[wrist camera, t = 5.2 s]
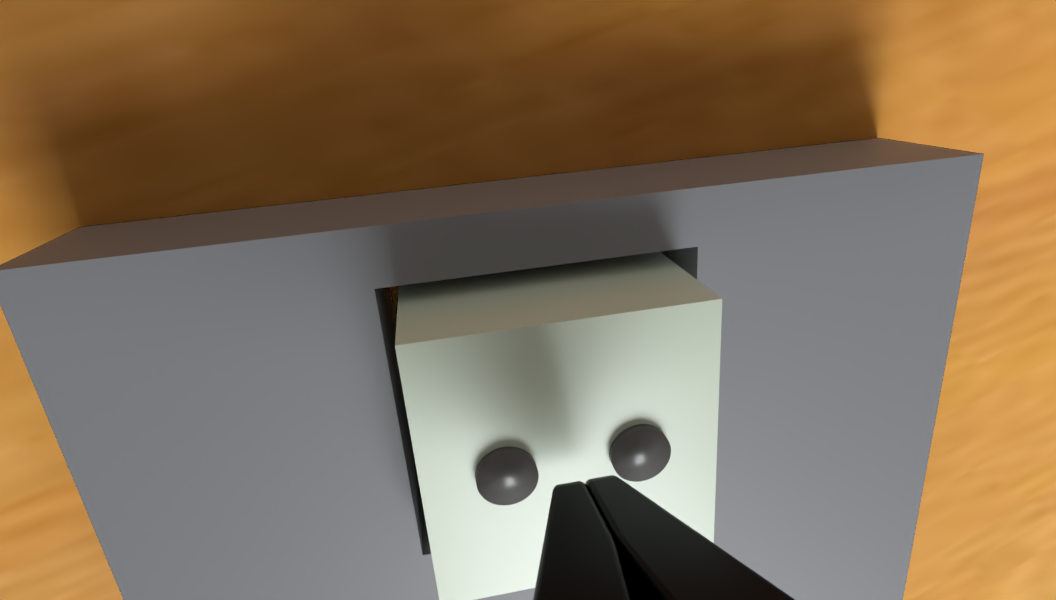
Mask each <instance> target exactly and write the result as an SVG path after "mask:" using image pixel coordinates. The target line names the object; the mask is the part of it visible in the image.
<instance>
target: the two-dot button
mask: <svg viewBox="0 0 1056 600" xmlns="http://www.w3.org/2000/svg"><path fill="white" fill-rule="evenodd" d="M721 322H722V298H721V297H719V296H718V295H717V294H715V293H714V292H713V291H711V290H710V289H709V288H707V287H706V286H705V285H703V284H702V283H701V282H699V281H698V280H697V279H695V278H694V277H693V276H691V275H690V274H689V273H687V272H686V271H685V270H683V269H682V268H681V267H679V266H678V265H677V264H675V263H674V262H673V261H671V260H670V259H669V258H667V257H666V256H665V255H664V254H662V253H661V252H653V253H645V254H637V255H630V256H622V257H615V258H607V259H599V260H592V261H584V262H576V263H569V264H561V265H553V266H546V267H538V268H531V269H523V270H515V271H508V272H500V273H492V274H485V275H477V276H470V277H462V278H454V279H447V280H439V281H431V282H424V283H416V284H408V285H401V286H399V294H398V308H397V322H396V336H395V349H396V355H397V361H398V367H399V372H400V378H401V384H402V389H403V395H404V401H405V407H406V412H407V418H408V424H409V429H410V435H411V441H412V447H413V452H414V458H415V464H416V470H417V475H418V481H419V487H420V492H421V498H422V504H423V510H424V515H425V521H426V527H427V532H428V538H429V544H430V550H431V555H432V561H433V567H434V572H435V578H436V584H437V590H438V595H439V600H476V599H481V598H486V597H491V596H496V595H501V594H506V593H511V592H516V591H521V590H526V589H531V588H535V586H536V580H537V575H538V569H539V564H540V558H541V553H542V547H543V542H544V536H545V531H546V525H547V520H548V514H549V509H550V503H551V498H552V492H553V488H554V487H555V486H556V485H559V484H564V483H570V482H576V481H581V482H584V483H586V481H587V480H588V479H592V478H598V477H603V476H609V475H614V476H617V477H619V478H620V479H621V480H623V481H624V482H626V483H627V484H629V485H630V486H632V487H633V488H635V489H636V490H637V491H639V492H640V493H642V494H643V495H645V496H646V497H648V498H649V499H650V500H652V501H653V502H655V503H656V504H658V505H659V506H661V507H662V508H663V509H665V510H666V511H668V512H669V513H671V514H672V515H674V516H675V517H676V518H678V519H679V520H681V521H682V522H684V523H685V524H687V525H688V526H690V527H691V528H692V529H694V530H695V531H697V532H698V533H700V534H701V535H703V536H704V537H705V538H707V539H708V540H710V541H711V542H713V543H714V522H715V493H716V465H717V436H718V408H719V379H720V351H721Z"/></svg>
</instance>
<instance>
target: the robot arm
mask: <svg viewBox="0 0 1056 600" xmlns="http://www.w3.org/2000/svg"><path fill="white" fill-rule="evenodd" d="M533 600H795V599H794V598H792V597H791V596H789V595H788V594H786V593H785V592H784V591H782V590H781V589H779V588H778V587H776V586H775V585H773V584H772V583H771V582H769V581H768V580H766V579H765V578H763V577H762V576H760V575H759V574H758V573H756V572H755V571H753V570H752V569H750V568H749V567H747V566H746V565H745V564H743V563H742V562H740V561H739V560H737V559H736V558H734V557H733V556H731V555H730V554H729V553H727V552H726V551H724V550H723V549H721V548H720V547H718V546H717V545H716V544H714V543H713V542H711V541H710V540H708V539H707V538H705V537H704V536H703V535H701V534H700V533H698V532H697V531H695V530H694V529H692V528H691V527H690V526H688V525H687V524H685V523H684V522H682V521H681V520H679V519H678V518H676V517H675V516H674V515H672V514H671V513H669V512H668V511H666V510H665V509H663V508H662V507H661V506H659V505H658V504H656V503H655V502H653V501H652V500H650V499H649V498H648V497H646V496H645V495H643V494H642V493H640V492H639V491H637V490H636V489H635V488H633V487H632V486H630V485H629V484H627V483H626V482H624V481H623V480H621V479H620V478H619V477H617V476H614V475H609V476H603V477H598V478H592V479H588V480H587V481H586V483H584V482H581V481H576V482H570V483H564V484H559V485H556V486H555V487H554V488H553V492H552V498H551V503H550V509H549V514H548V520H547V525H546V531H545V536H544V542H543V547H542V553H541V558H540V564H539V569H538V575H537V580H536V586H535V591H534V597H533Z"/></svg>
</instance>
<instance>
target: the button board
mask: <svg viewBox="0 0 1056 600" xmlns="http://www.w3.org/2000/svg"><path fill="white" fill-rule="evenodd" d="M983 156H984V154H981V153H975V152H968V151H962V150H955V149H949V148H942V147H936V146H929V145H923V144H916V143H910V142H903V141H896V140H890V139H883V138H874V139H865V140H856V141H847V142H838V143H829V144H820V145H811V146H802V147H793V148H784V149H775V150H766V151H757V152H748V153H739V154H730V155H721V156H713V157H704V158H695V159H686V160H677V161H668V162H659V163H650V164H641V165H632V166H623V167H614V168H605V169H596V170H587V171H578V172H569V173H560V174H551V175H542V176H534V177H525V178H516V179H507V180H498V181H489V182H480V183H471V184H462V185H453V186H444V187H435V188H426V189H417V190H408V191H399V192H390V193H381V194H372V195H363V196H354V197H346V198H337V199H328V200H319V201H310V202H301V203H292V204H283V205H274V206H265V207H256V208H247V209H238V210H229V211H220V212H211V213H202V214H193V215H184V216H175V217H167V218H158V219H149V220H140V221H131V222H122V223H113V224H104V225H95V226H86V227H79V228H77V229H75V230H73V231H71V232H68V233H66V234H64V235H62V236H60V237H58V238H56V239H54V240H52V241H50V242H48V243H45V244H43V245H41V246H39V247H37V248H35V249H33V250H31V251H29V252H27V253H25V254H22V255H20V256H18V257H16V258H14V259H12V260H10V261H8V262H6V263H4V264H2V265H0V305H1V307H2V310H3V312H4V315H5V317H6V319H7V322H8V324H9V327H10V329H11V331H12V334H13V336H14V338H15V341H16V343H17V346H18V348H19V350H20V353H21V355H22V358H23V360H24V362H25V365H26V367H27V370H28V372H29V374H30V377H31V379H32V382H33V384H34V386H35V389H36V391H37V394H38V396H39V398H40V401H41V403H42V405H43V408H44V410H45V413H46V415H47V417H48V420H49V422H50V425H51V427H52V429H53V432H54V434H55V437H56V439H57V441H58V444H59V446H60V449H61V451H62V453H63V456H64V458H65V461H66V463H67V465H68V468H69V470H70V472H71V475H72V477H73V480H74V482H75V484H76V487H77V489H78V492H79V494H80V496H81V499H82V501H83V504H84V506H85V508H86V511H87V513H88V516H89V518H90V520H91V523H92V525H93V528H94V530H95V532H96V535H97V537H98V539H99V542H100V544H101V547H102V549H103V551H104V554H105V556H106V559H107V561H108V563H109V566H110V568H111V571H112V573H113V575H114V578H115V580H116V583H117V585H118V587H119V590H120V592H121V595H122V597H123V599H124V600H439V595H438V590H437V584H436V578H435V572H434V567H433V561H432V555H431V550H430V544H429V538H428V532H427V527H426V521H425V515H424V510H423V504H422V498H421V492H420V487H419V481H418V475H417V470H416V464H415V458H414V452H413V447H412V441H411V435H410V429H409V424H408V418H407V412H406V407H405V401H404V395H403V389H402V384H401V378H400V372H399V367H398V361H397V355H396V349H395V336H396V322H395V316H394V310H393V304H392V298H391V293H390V287H393V286H401V285H408V284H416V283H424V282H431V281H439V280H447V279H454V278H462V277H470V276H477V275H485V274H492V273H500V272H508V271H515V270H523V269H531V268H538V267H546V266H553V265H561V264H569V263H576V262H584V261H592V260H599V259H607V258H615V257H622V256H630V255H637V254H645V253H653V252H661V253H662V254H664V255H665V256H666V257H667V258H669V259H670V260H671V261H673V262H674V263H675V264H677V265H678V266H679V267H681V268H682V269H683V270H685V271H686V272H687V273H689V274H690V275H691V276H693V277H694V278H695V279H697V280H698V281H699V282H701V283H702V284H703V285H705V286H706V287H707V288H709V289H710V290H711V291H713V292H714V293H715V294H717V295H718V296H719V297H721V298H722V322H721V351H720V379H719V408H718V436H717V465H716V493H715V522H714V544H716V545H717V546H718V547H720V548H721V549H723V550H724V551H726V552H727V553H729V554H730V555H731V556H733V557H734V558H736V559H737V560H739V561H740V562H742V563H743V564H745V565H746V566H747V567H749V568H750V569H752V570H753V571H755V572H756V573H758V574H759V575H760V576H762V577H763V578H765V579H766V580H768V581H769V582H771V583H772V584H773V585H775V586H776V587H778V588H779V589H781V590H782V591H784V592H785V593H786V594H788V595H789V596H791V597H792V598H794V599H795V600H903V595H904V590H905V584H906V579H907V573H908V568H909V562H910V557H911V551H912V546H913V540H914V535H915V529H916V524H917V518H918V513H919V507H920V502H921V496H922V491H923V485H924V480H925V474H926V469H927V463H928V458H929V452H930V447H931V441H932V436H933V430H934V425H935V419H936V414H937V408H938V403H939V398H940V392H941V387H942V381H943V376H944V370H945V365H946V359H947V354H948V348H949V343H950V337H951V332H952V326H953V321H954V315H955V310H956V304H957V299H958V293H959V288H960V282H961V277H962V271H963V266H964V260H965V255H966V249H967V244H968V238H969V233H970V227H971V222H972V216H973V211H974V205H975V200H976V194H977V189H978V183H979V178H980V172H981V167H982V161H983ZM534 591H535V588H531V589H526V590H521V591H516V592H511V593H506V594H501V595H496V596H491V597H486V598H481V599H476V600H533V597H534Z"/></svg>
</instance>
